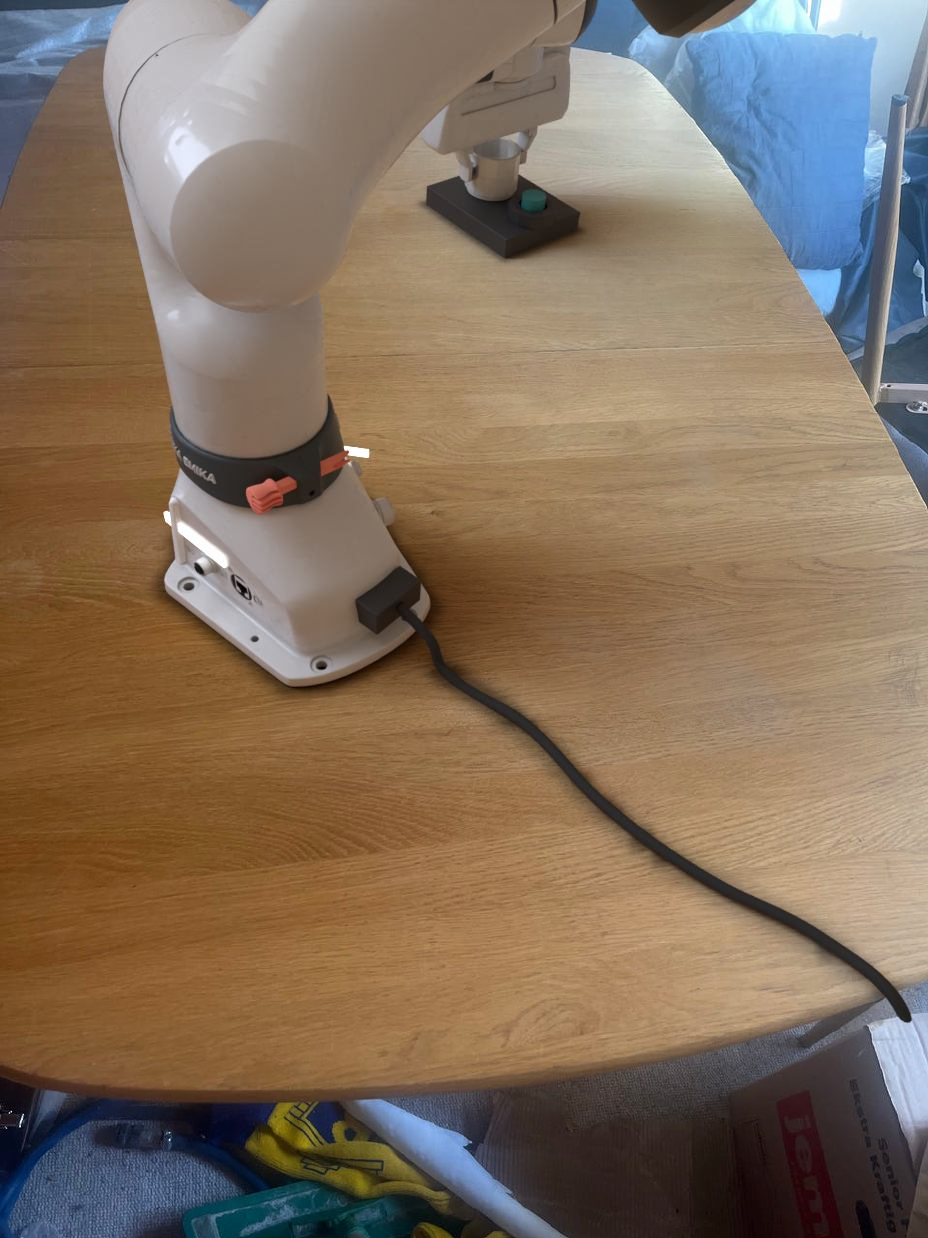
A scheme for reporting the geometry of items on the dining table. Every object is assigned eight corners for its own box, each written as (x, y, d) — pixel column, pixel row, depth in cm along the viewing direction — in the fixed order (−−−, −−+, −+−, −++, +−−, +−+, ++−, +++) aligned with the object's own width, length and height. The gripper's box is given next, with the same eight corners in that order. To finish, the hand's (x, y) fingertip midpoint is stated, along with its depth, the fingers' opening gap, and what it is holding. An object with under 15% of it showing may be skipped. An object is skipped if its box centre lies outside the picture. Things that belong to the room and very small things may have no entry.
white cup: (526, 193, 118) (532, 152, 114) (487, 206, 115) (491, 165, 111) (493, 171, 121) (497, 131, 117) (454, 184, 118) (456, 143, 114)
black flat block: (580, 232, 118) (586, 200, 115) (507, 260, 113) (511, 228, 110) (498, 180, 125) (501, 149, 122) (425, 204, 120) (426, 172, 117)
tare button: (549, 209, 114) (551, 196, 113) (531, 215, 113) (533, 202, 111) (533, 199, 115) (535, 186, 114) (516, 205, 114) (517, 192, 113)
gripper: (553, 19, 112) (538, 140, 122) (414, 53, 103) (410, 181, 113) (590, 38, 109) (572, 160, 120) (451, 74, 100) (444, 203, 110)
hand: (492, 170), depth 116 cm, fingers closed on white cup, 6 cm apart
